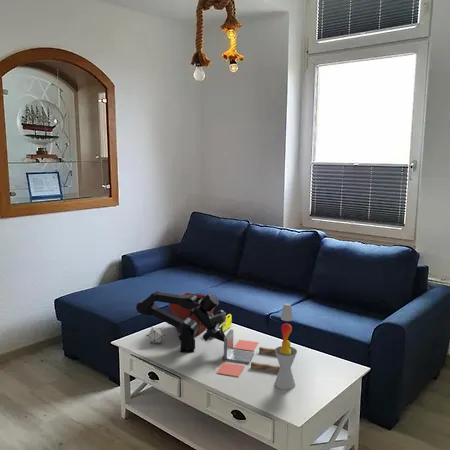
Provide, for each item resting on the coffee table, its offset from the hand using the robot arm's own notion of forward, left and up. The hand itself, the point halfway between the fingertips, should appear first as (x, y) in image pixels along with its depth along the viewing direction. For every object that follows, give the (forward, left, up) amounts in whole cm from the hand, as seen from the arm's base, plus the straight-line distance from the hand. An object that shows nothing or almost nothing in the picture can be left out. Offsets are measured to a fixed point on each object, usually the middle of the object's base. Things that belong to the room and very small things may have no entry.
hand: (226, 341), depth 219 cm
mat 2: (+10, +10, -7) cm, 16 cm away
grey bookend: (+6, -2, -7) cm, 9 cm away
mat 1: (+1, -14, -7) cm, 16 cm away
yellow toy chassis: (-2, +29, -7) cm, 30 cm away
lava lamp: (+23, -27, -7) cm, 36 cm away
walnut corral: (+20, -7, -7) cm, 22 cm away
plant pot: (-17, +31, -7) cm, 36 cm away
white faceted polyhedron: (-35, +15, -7) cm, 38 cm away
